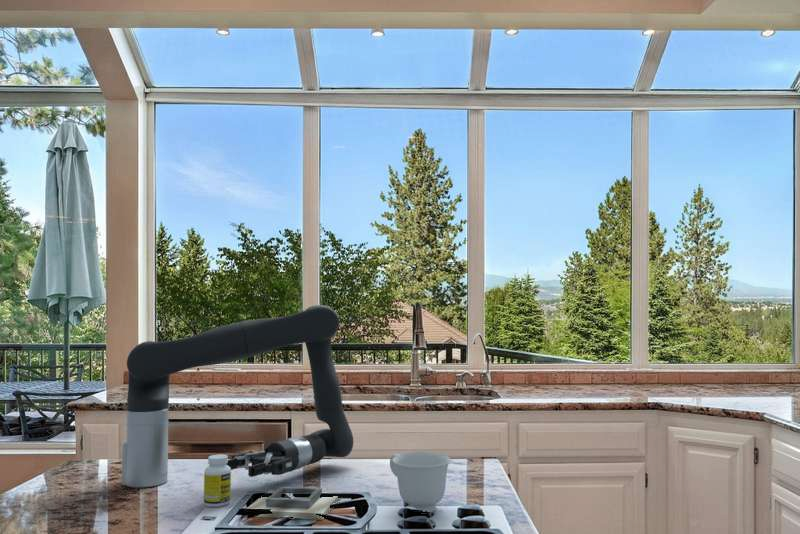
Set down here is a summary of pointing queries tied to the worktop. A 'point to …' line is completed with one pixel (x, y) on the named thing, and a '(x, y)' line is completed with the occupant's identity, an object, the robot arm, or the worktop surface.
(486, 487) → the worktop surface
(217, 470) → the supplement bottle
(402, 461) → the teacup
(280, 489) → the seat board
